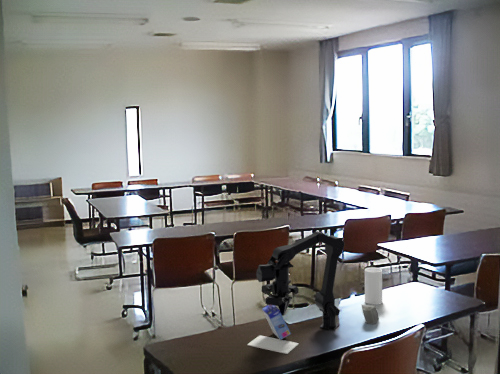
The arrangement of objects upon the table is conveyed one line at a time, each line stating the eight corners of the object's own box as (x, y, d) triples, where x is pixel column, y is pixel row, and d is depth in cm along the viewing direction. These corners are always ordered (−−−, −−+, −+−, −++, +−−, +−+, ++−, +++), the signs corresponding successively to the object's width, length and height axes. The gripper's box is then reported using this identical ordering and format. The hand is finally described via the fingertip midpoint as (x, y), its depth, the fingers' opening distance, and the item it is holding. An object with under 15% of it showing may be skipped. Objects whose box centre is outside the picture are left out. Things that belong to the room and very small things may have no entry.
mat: (259, 336, 222) (259, 335, 222) (298, 344, 213) (298, 343, 213) (247, 345, 214) (247, 344, 214) (287, 354, 205) (287, 353, 205)
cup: (361, 300, 261) (361, 268, 259) (376, 297, 263) (376, 266, 261) (370, 305, 253) (370, 272, 251) (385, 303, 255) (385, 270, 253)
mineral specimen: (358, 317, 237) (362, 300, 236) (378, 322, 235) (382, 305, 234) (357, 322, 230) (361, 305, 229) (377, 328, 228) (381, 310, 227)
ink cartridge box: (292, 333, 217) (276, 303, 214) (280, 340, 216) (264, 311, 213) (284, 326, 226) (269, 297, 224) (273, 333, 225) (258, 304, 223)
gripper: (275, 270, 230) (276, 305, 232) (253, 282, 215) (254, 319, 217) (298, 273, 225) (299, 309, 227) (277, 285, 209) (278, 324, 211)
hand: (282, 315), depth 220 cm, fingers closed
